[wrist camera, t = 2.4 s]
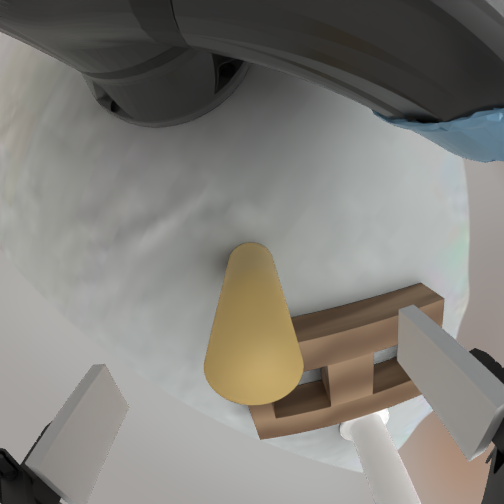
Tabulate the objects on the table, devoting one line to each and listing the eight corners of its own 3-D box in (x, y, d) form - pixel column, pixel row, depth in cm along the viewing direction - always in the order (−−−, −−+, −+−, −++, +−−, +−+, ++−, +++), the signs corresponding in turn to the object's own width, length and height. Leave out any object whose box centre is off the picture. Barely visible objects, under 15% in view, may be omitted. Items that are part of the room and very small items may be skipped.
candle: (354, 442, 32) (399, 581, 8) (329, 425, 31) (374, 591, 6) (394, 415, 31) (461, 552, 7) (374, 395, 30) (451, 559, 5)
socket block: (233, 329, 27) (231, 355, 22) (421, 282, 26) (444, 298, 22) (258, 411, 30) (260, 439, 25) (415, 369, 29) (431, 389, 24)
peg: (223, 247, 25) (191, 338, 10) (268, 238, 25) (296, 319, 10) (234, 289, 26) (219, 410, 11) (277, 280, 26) (308, 395, 11)
